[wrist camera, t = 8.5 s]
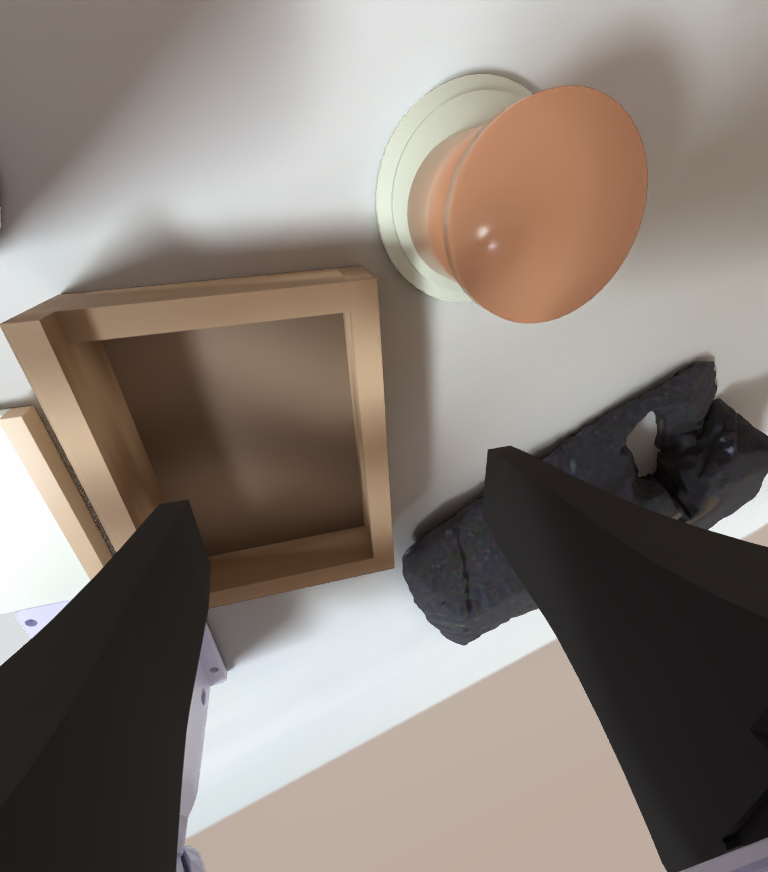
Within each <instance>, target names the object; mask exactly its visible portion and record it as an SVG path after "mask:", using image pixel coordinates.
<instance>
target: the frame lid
mask: <svg viewBox="0 0 768 872" xmlns="http://www.w3.org/2000/svg"><path fill="white" fill-rule="evenodd" d="M112 557H113V556H112V555H111V553H110V551H109V549H108V547H107V545H106V543H105V541H104V539H103V537H102V535H101V533H100V532H99V530H98V528H97V526H96V524H95V522H94V520H93V518H92V516H91V514H90V512H89V510H88V509H87V507H86V505H85V503H84V501H83V499H82V497H81V495H80V493H79V491H78V489H77V488H76V486H75V484H74V482H73V480H72V478H71V476H70V474H69V472H68V470H67V468H66V466H65V465H64V463H63V461H62V459H61V457H60V455H59V453H58V451H57V449H56V447H55V445H54V443H53V442H52V440H51V438H50V436H49V434H48V432H47V430H46V428H45V426H44V424H43V422H42V421H41V419H40V417H39V415H38V413H37V411H36V409H35V407H34V405H33V406H25V407H18V408H10V409H3V410H0V614H3V613H8V612H13V611H18V610H23V609H28V608H33V607H37V606H42V605H47V604H52V603H57V602H62V601H67V600H72V599H73V598H74V597H75V596H76V595H77V594H78V593H79V592H80V591H81V590H82V589H83V588H84V587H85V586H86V585H87V584H88V583H89V582H90V581H91V580H92V579H93V578H94V577H95V576H96V574H97V573H98V572H99V571H100V570H101V569H102V568H103V567H104V566H105V565H106V564H107V562H108V561H109V560H110V559H111V558H112Z"/></svg>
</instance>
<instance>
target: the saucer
mask: <svg viewBox="0 0 768 872" xmlns="http://www.w3.org/2000/svg"><path fill="white" fill-rule="evenodd" d="M530 95H533V94H532V93H531V92H530V91H529V90H528V89H526V88H525V87H523V86H522V85H520V84H519V83H517V82H515V81H512V80H510V79H508V78H505V77H501V76H497V75H491V74H474V75H466V76H463V77H459V78H456V79H453V80H451V81H448V82H446V83H444V84H442V85H440V86H438V87H437V88H435V89H434V90H432V91H431V92H429V93H428V94H426V95H425V96H423V97H422V98H421V99H420V100H419V101H418V102H417V103H415V104H414V105H413V106H412V107H411V108H410V109H409V111H408V112H407V113H406V114H405V115H404V117H403V118H402V119H401V121H400V122H399V124H398V125H397V127H396V128H395V130H394V131H393V133H392V135H391V137H390V139H389V141H388V143H387V145H386V148H385V151H384V153H383V156H382V159H381V162H380V166H379V171H378V175H377V182H376V191H375V210H376V219H377V225H378V229H379V233H380V237H381V240H382V243H383V245H384V248H385V250H386V252H387V254H388V256H389V258H390V260H391V261H392V263H393V264H394V266H395V267H396V269H397V270H398V271H399V272H400V274H401V275H402V276H403V277H404V278H405V279H406V280H407V281H408V282H410V283H411V284H412V285H413V286H415V287H416V288H418V289H419V290H421V291H422V292H424V293H426V294H427V295H430V296H432V297H434V298H437V299H440V300H444V301H448V302H457V303H463V302H474V301H473V300H472V299H471V298H470V297H469V296H467V295H466V293H465V292H464V291H463V290H462V288H461V287H460V286H459V284H458V283H456V282H454V281H452V280H450V279H448V278H446V277H444V276H442V275H440V274H438V273H436V272H435V271H434V270H432V269H431V268H430V267H429V266H428V265H426V264H425V262H424V261H423V260H422V259H421V257H420V256H419V254H418V253H417V251H416V249H415V247H414V245H413V243H412V240H411V236H410V233H409V228H408V220H407V207H408V198H409V192H410V189H411V185H412V182H413V180H414V177H415V175H416V172H417V171H418V169H419V167H420V165H421V163H422V162H423V161H424V159H425V158H426V156H427V155H428V154H429V153H430V152H431V151H432V149H433V148H434V147H435V146H437V145H438V144H439V143H440V142H441V141H443V140H444V139H446V138H448V137H449V136H451V135H453V134H456V133H458V132H461V131H464V130H467V129H471V128H474V127H477V126H480V125H484V124H486V123H487V122H488V121H489V120H490V119H491V118H492V117H493V116H495V115H496V114H497V113H498V112H500V111H501V110H502V109H504V108H506V107H507V106H509V105H510V104H512V103H514V102H516V101H518V100H520V99H523V98H525V97H527V96H530Z"/></svg>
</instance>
